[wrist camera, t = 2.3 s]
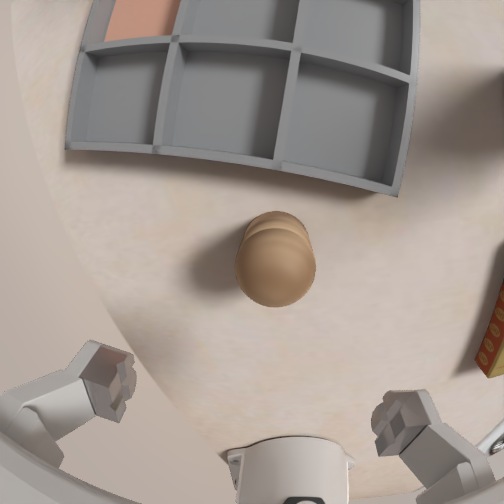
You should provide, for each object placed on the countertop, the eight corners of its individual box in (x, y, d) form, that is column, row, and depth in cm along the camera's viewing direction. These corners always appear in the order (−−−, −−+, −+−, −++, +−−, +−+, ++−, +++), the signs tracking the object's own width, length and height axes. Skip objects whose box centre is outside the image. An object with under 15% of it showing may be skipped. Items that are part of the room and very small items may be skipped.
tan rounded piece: (301, 278, 23) (307, 328, 17) (239, 266, 23) (224, 314, 17) (315, 218, 21) (330, 251, 15) (248, 205, 22) (235, 233, 15)
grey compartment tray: (383, 190, 20) (397, 197, 17) (84, 147, 21) (64, 149, 18) (406, 5, 14) (419, -7, 11) (120, -19, 15) (106, -31, 12)
